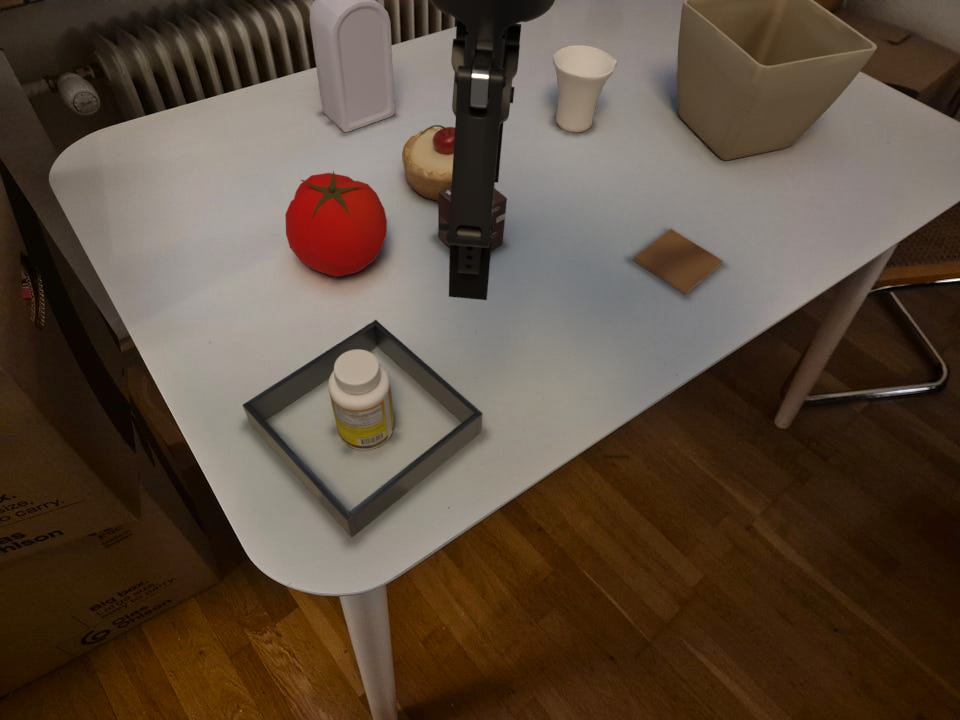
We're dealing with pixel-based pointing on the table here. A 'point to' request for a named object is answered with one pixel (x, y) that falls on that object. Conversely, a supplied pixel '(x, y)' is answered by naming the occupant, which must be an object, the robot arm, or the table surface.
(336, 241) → the tomato
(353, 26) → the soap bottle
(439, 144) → the pastry
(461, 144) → the robot arm
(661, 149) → the table surface
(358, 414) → the supplement bottle
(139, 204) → the table surface
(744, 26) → the flower pot
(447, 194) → the box
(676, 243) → the coaster
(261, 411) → the dark grey square frame
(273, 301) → the table surface
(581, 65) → the cup
